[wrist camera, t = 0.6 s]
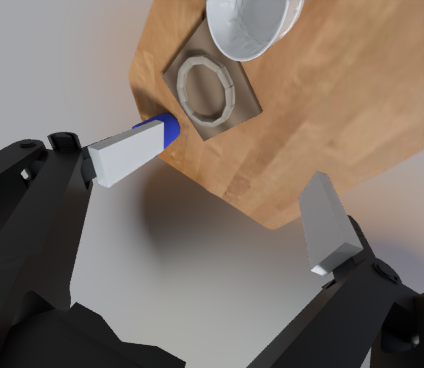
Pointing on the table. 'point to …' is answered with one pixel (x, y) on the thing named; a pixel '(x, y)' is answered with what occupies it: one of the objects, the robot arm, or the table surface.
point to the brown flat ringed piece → (210, 86)
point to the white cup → (250, 25)
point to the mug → (165, 127)
